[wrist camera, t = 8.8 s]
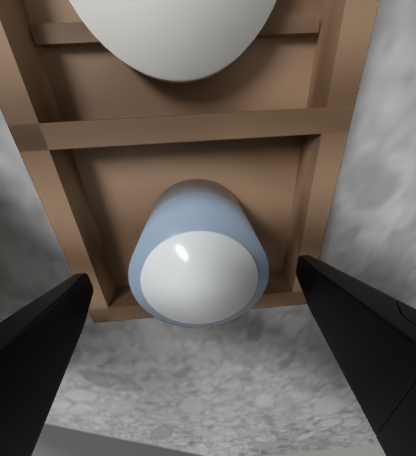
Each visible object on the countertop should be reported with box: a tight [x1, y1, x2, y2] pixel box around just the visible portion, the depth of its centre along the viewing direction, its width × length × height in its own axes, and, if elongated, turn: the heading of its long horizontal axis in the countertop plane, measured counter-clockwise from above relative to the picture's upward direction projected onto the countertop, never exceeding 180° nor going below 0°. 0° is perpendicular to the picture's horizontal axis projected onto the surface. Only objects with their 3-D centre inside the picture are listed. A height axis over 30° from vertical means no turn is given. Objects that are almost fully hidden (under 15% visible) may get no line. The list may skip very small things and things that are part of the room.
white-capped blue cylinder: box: [128, 179, 269, 328], centre depth 11 cm, size 6×6×5 cm
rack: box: [0, 0, 379, 323], centre depth 10 cm, size 22×14×2 cm, turn 3°
